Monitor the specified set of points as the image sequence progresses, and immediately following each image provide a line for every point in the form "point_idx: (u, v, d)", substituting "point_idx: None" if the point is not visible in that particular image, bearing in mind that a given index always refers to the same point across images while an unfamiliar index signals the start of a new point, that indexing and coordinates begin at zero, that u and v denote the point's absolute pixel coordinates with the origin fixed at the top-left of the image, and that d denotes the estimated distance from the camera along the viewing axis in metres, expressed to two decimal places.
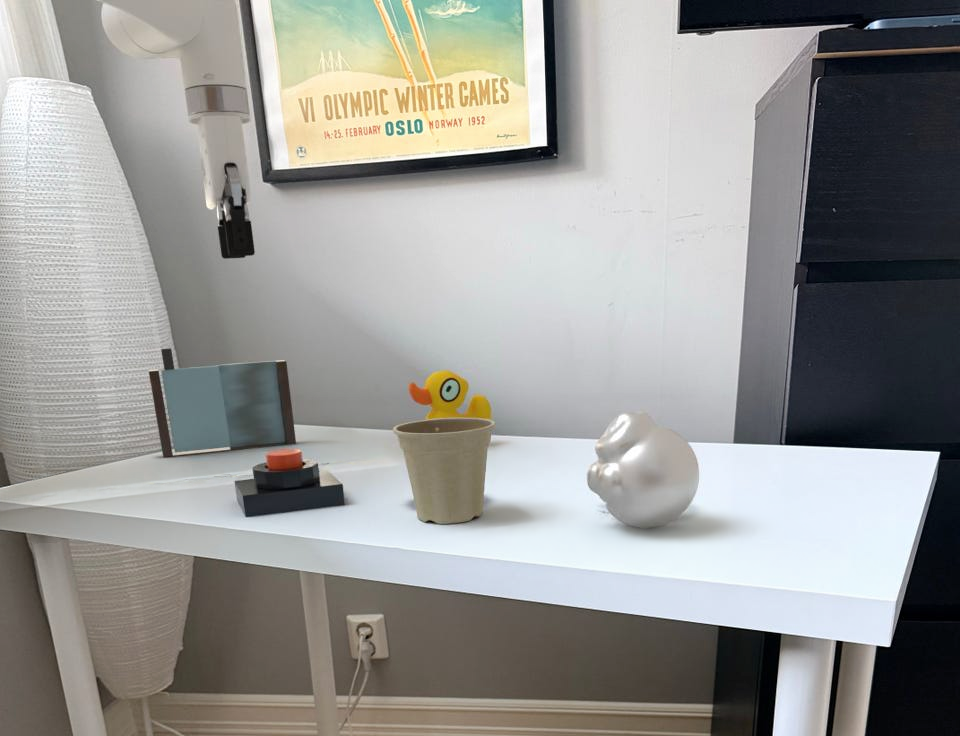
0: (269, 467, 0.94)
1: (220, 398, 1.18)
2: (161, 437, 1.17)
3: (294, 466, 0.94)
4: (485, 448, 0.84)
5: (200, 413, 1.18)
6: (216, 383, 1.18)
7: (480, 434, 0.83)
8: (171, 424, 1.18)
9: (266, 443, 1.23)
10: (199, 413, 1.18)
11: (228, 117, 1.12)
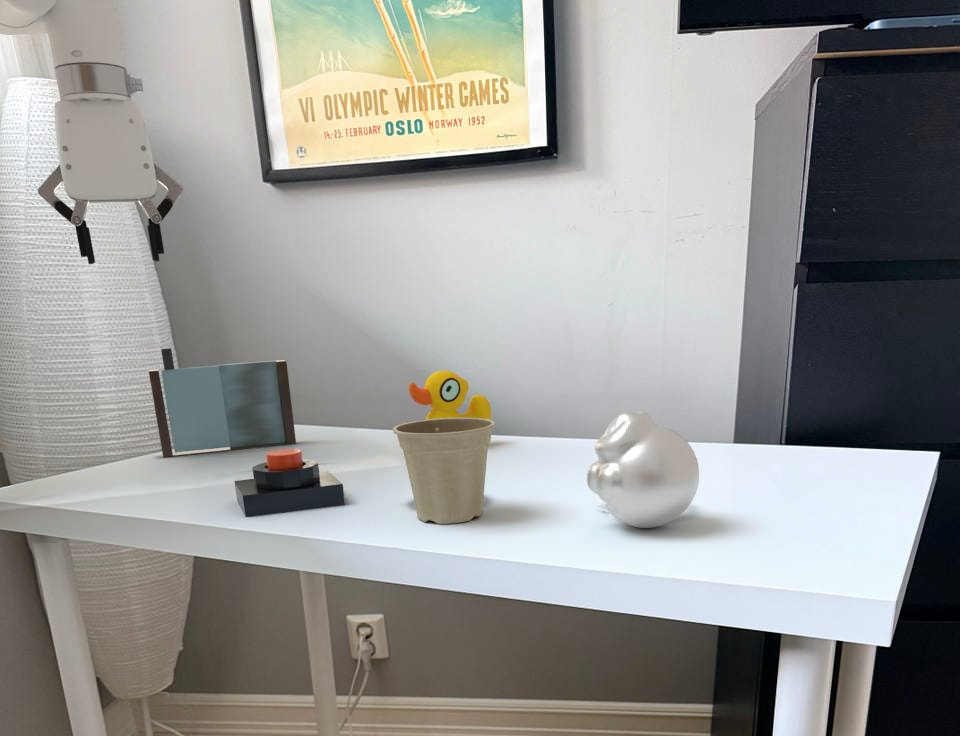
0: (269, 467, 0.94)
1: (220, 398, 1.18)
2: (161, 437, 1.17)
3: (294, 466, 0.94)
4: (485, 448, 0.84)
5: (200, 413, 1.18)
6: (216, 383, 1.18)
7: (480, 434, 0.83)
8: (171, 424, 1.18)
9: (266, 443, 1.23)
10: (199, 413, 1.18)
11: (55, 105, 1.02)
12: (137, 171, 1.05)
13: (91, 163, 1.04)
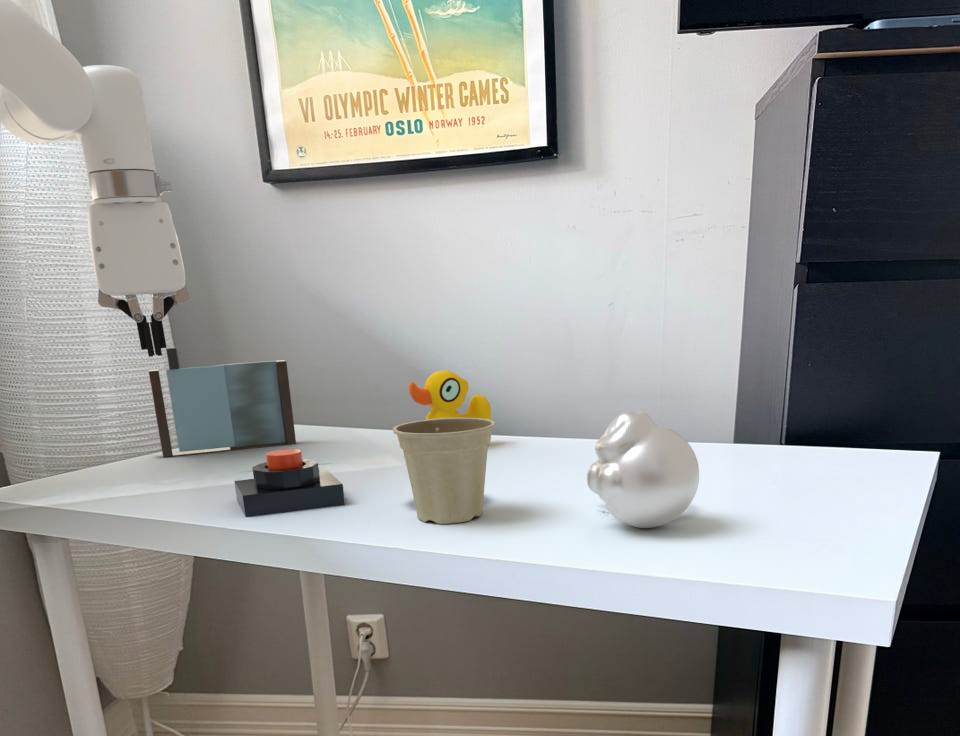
0: (269, 467, 0.94)
1: (225, 398, 1.19)
2: (161, 437, 1.17)
3: (294, 466, 0.94)
4: (485, 448, 0.84)
5: (205, 413, 1.18)
6: (221, 383, 1.18)
7: (480, 434, 0.83)
8: (176, 424, 1.18)
9: (266, 443, 1.23)
10: (204, 413, 1.18)
11: (88, 207, 1.06)
12: (167, 267, 1.10)
13: (123, 262, 1.08)
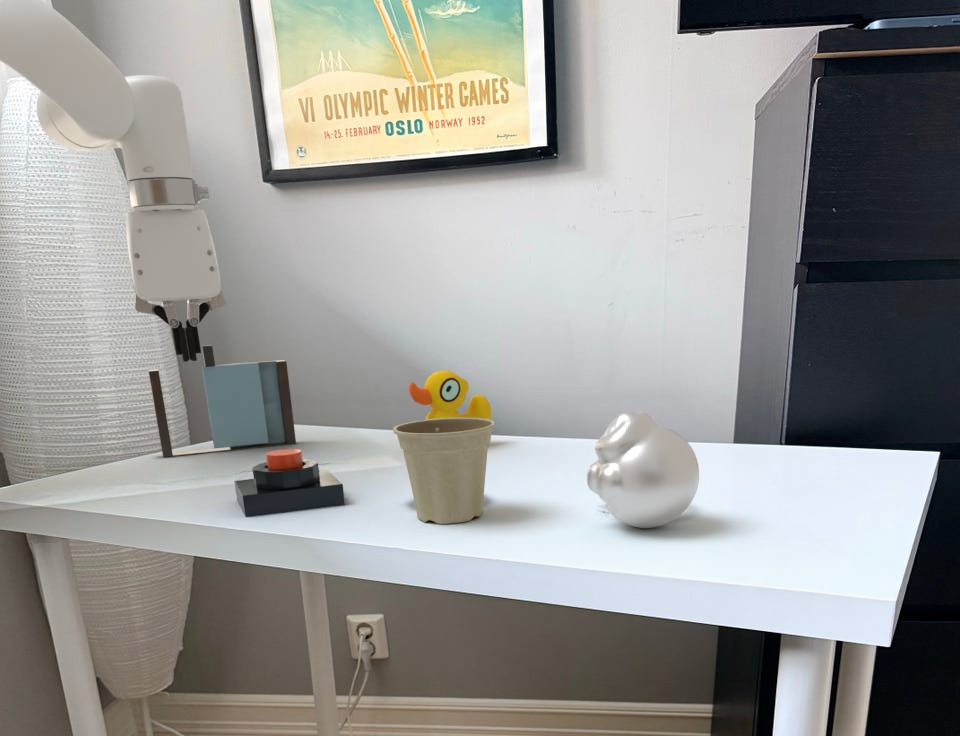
0: (269, 467, 0.94)
1: (260, 395, 1.20)
2: (161, 437, 1.17)
3: (294, 466, 0.94)
4: (485, 448, 0.84)
5: (239, 409, 1.20)
6: (255, 380, 1.19)
7: (480, 434, 0.83)
8: (211, 420, 1.19)
9: (266, 443, 1.23)
10: (238, 409, 1.20)
11: (127, 214, 1.08)
12: (203, 274, 1.11)
13: (161, 268, 1.09)
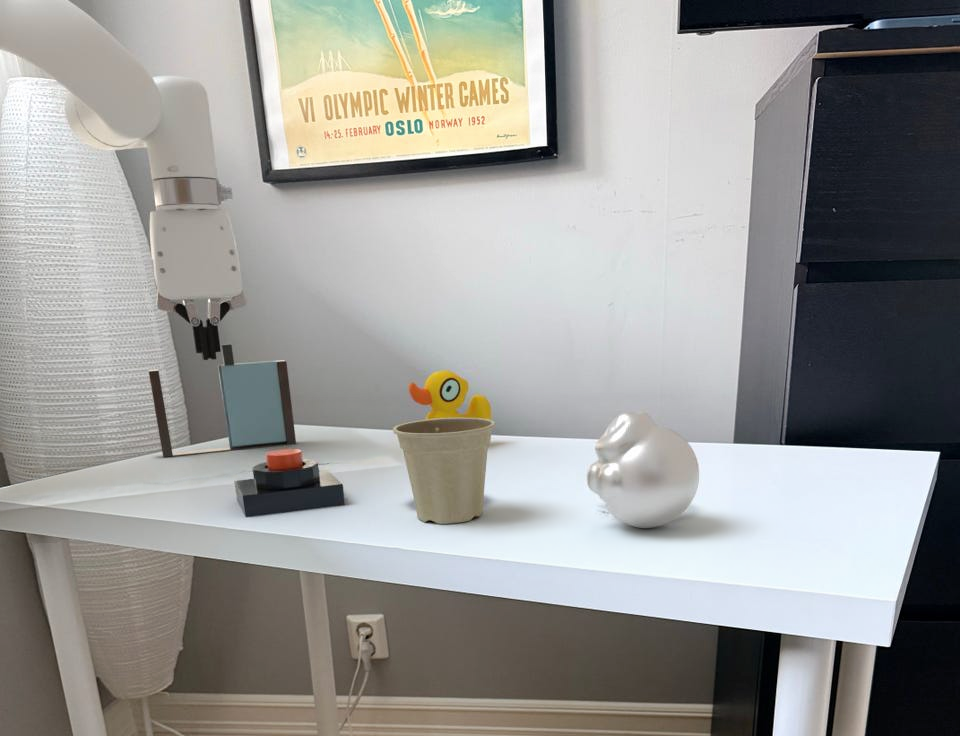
0: (269, 467, 0.94)
1: (278, 393, 1.21)
2: (161, 437, 1.17)
3: (294, 466, 0.94)
4: (485, 448, 0.84)
5: (258, 408, 1.20)
6: (274, 378, 1.20)
7: (480, 434, 0.83)
8: (230, 419, 1.20)
9: (266, 443, 1.23)
10: (257, 408, 1.20)
11: (151, 213, 1.09)
12: (225, 273, 1.12)
13: (183, 267, 1.10)
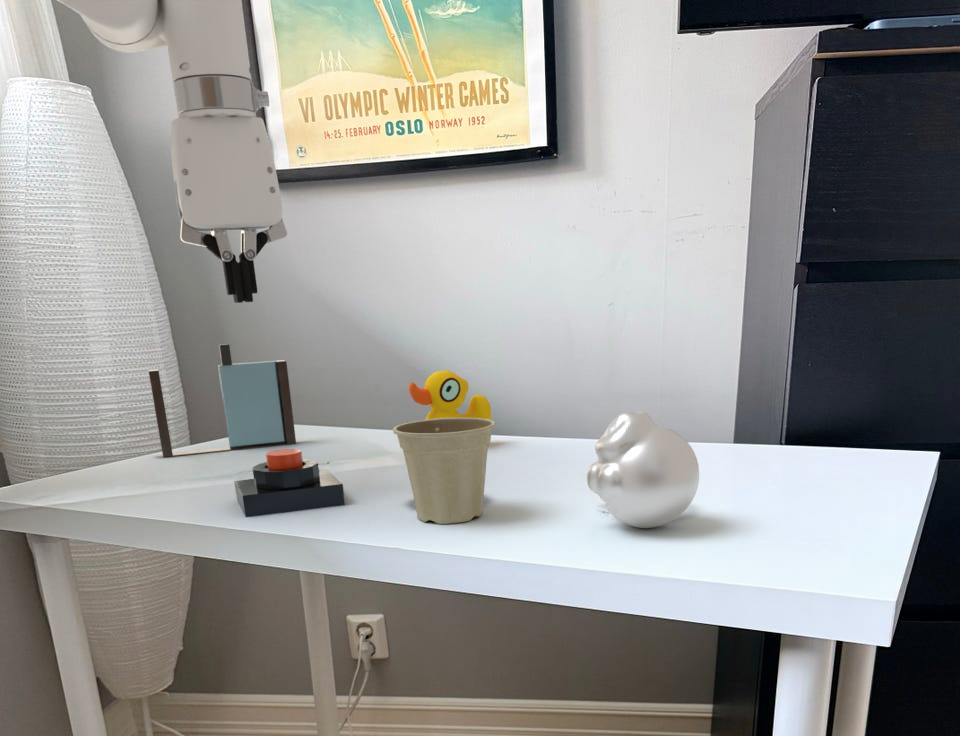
0: (269, 467, 0.94)
1: (276, 394, 1.21)
2: (161, 437, 1.17)
3: (294, 466, 0.94)
4: (485, 448, 0.84)
5: (256, 408, 1.20)
6: (272, 379, 1.20)
7: (480, 434, 0.83)
8: (228, 419, 1.20)
9: (266, 443, 1.23)
10: (255, 408, 1.20)
11: (173, 122, 0.90)
12: (262, 196, 0.94)
13: (213, 188, 0.92)
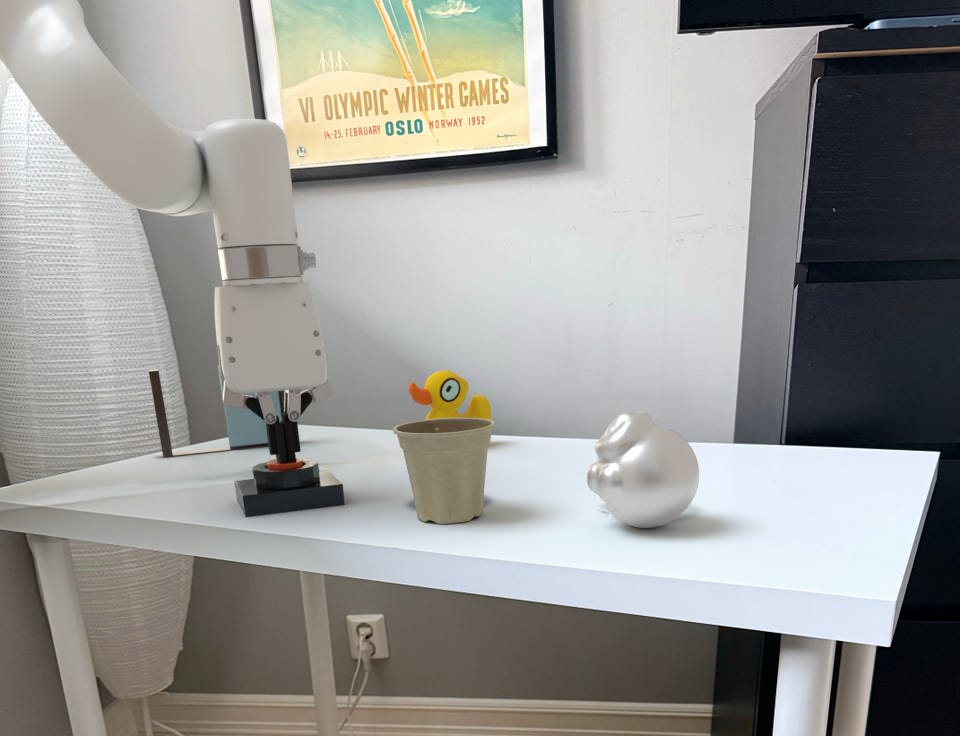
0: None
1: (276, 394, 1.21)
2: (161, 437, 1.17)
3: None
4: (485, 448, 0.84)
5: None
6: None
7: (480, 434, 0.83)
8: (228, 419, 1.20)
9: (266, 443, 1.23)
10: None
11: (217, 289, 0.87)
12: (308, 359, 0.90)
13: (257, 354, 0.88)
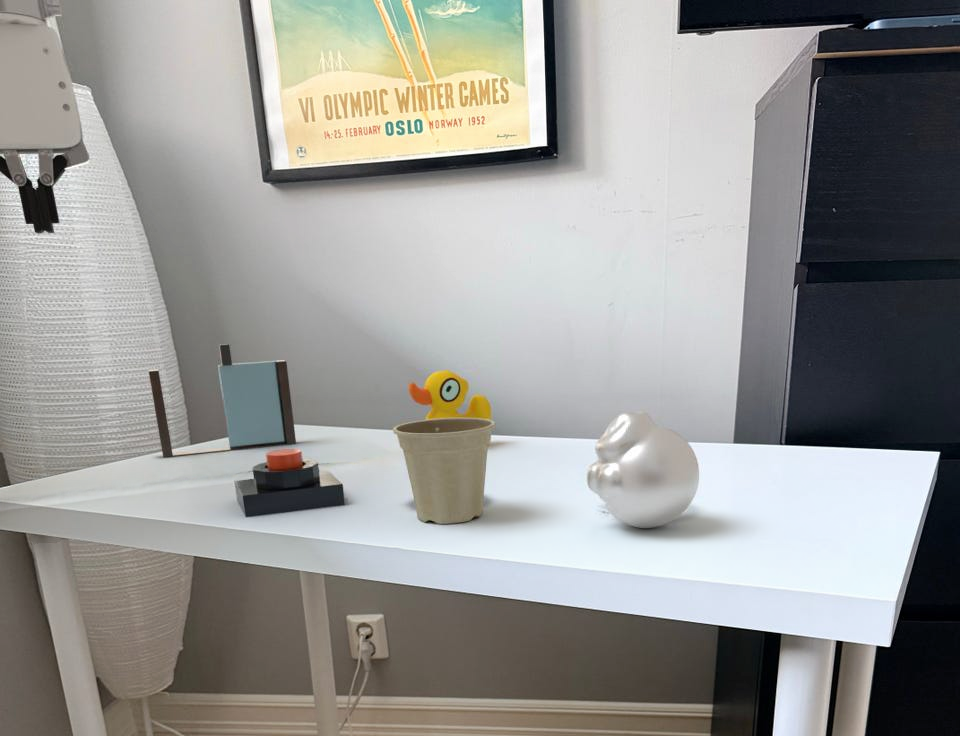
0: (269, 467, 0.94)
1: (276, 394, 1.21)
2: (161, 437, 1.17)
3: (294, 466, 0.94)
4: (485, 448, 0.84)
5: (256, 408, 1.20)
6: (272, 379, 1.20)
7: (480, 434, 0.83)
8: (228, 419, 1.20)
9: (266, 443, 1.23)
10: (255, 408, 1.20)
11: None
12: (55, 113, 0.86)
13: None
